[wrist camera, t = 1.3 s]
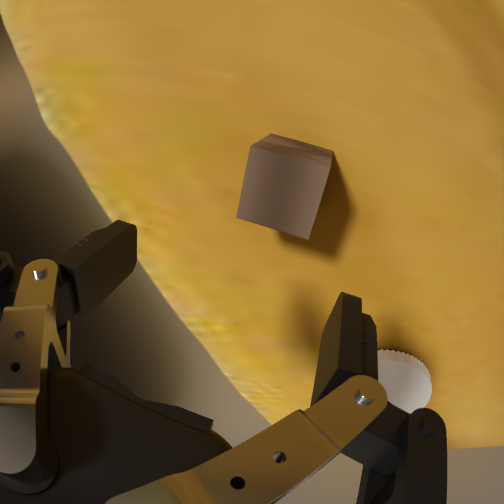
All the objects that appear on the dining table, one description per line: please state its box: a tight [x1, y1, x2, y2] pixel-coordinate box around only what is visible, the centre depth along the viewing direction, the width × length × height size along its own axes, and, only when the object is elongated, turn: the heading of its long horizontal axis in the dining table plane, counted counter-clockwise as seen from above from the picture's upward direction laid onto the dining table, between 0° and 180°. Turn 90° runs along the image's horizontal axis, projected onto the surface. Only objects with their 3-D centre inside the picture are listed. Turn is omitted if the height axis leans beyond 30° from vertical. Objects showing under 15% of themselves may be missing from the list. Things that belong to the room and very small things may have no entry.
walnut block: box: [236, 134, 333, 240], centre depth 22 cm, size 5×5×6 cm
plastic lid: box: [377, 349, 432, 414], centre depth 33 cm, size 14×14×2 cm
